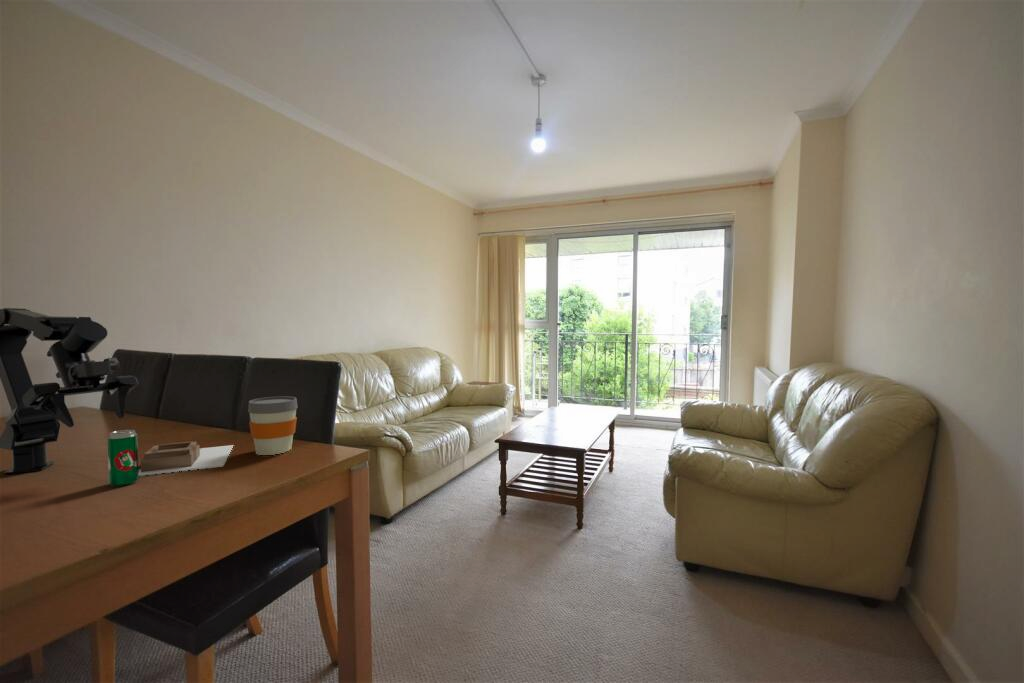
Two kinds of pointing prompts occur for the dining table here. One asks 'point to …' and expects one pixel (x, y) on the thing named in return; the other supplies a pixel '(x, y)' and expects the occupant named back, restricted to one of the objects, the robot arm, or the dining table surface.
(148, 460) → the socket block
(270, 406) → the reusable coffee cup
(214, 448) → the white flat sheet
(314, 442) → the dining table surface
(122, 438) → the soda can
